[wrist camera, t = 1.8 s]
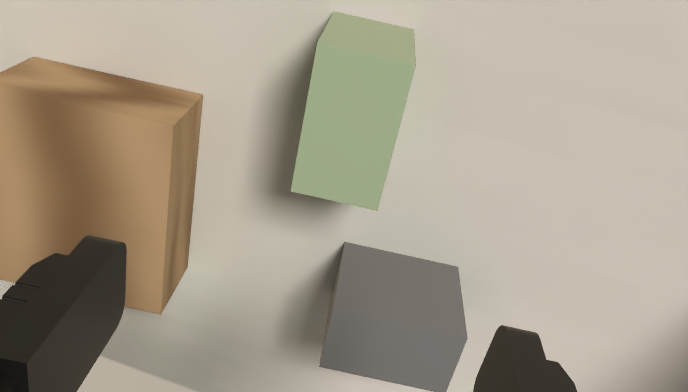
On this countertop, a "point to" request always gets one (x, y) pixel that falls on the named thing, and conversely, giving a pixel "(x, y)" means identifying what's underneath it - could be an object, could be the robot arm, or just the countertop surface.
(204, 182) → the countertop surface
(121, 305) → the robot arm
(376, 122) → the sage brick
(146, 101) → the oak block
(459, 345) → the charcoal brick
